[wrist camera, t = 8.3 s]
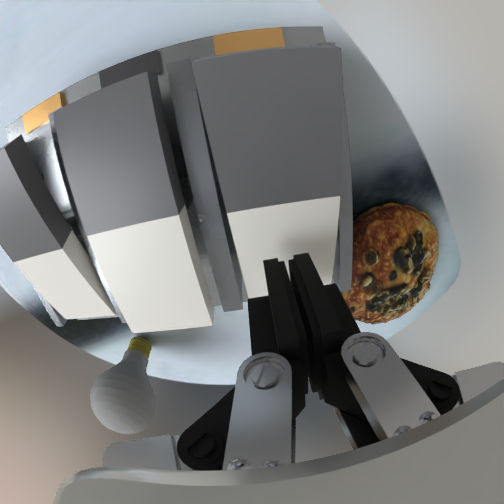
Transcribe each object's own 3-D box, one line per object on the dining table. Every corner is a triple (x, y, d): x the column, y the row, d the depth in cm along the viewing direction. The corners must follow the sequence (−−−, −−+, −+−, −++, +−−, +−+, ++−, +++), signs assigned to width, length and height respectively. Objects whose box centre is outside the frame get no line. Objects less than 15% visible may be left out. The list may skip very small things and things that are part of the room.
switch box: (50, 119, 14) (-23, 134, 7) (299, 49, 13) (341, 9, 7) (102, 281, 20) (63, 344, 14) (322, 245, 20) (359, 312, 13)
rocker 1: (-22, 166, 7) (-38, 182, 6) (23, 132, 7) (4, 147, 6) (71, 300, 14) (65, 319, 13) (120, 294, 14) (115, 315, 13)
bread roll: (295, 246, 20) (323, 282, 15) (405, 172, 19) (449, 188, 14) (344, 330, 25) (367, 366, 20) (428, 267, 24) (459, 292, 19)
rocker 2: (71, 111, 8) (52, 113, 7) (158, 76, 8) (147, 71, 7) (139, 314, 13) (132, 333, 11) (214, 305, 12) (212, 325, 11)
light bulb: (137, 309, 22) (101, 406, 13) (181, 346, 24) (165, 440, 15) (106, 333, 23) (72, 416, 14) (146, 364, 25) (126, 446, 17)
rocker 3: (196, 59, 6) (191, 62, 5) (324, 45, 6) (340, 48, 5) (246, 276, 14) (248, 299, 13) (323, 263, 13) (330, 284, 12)
